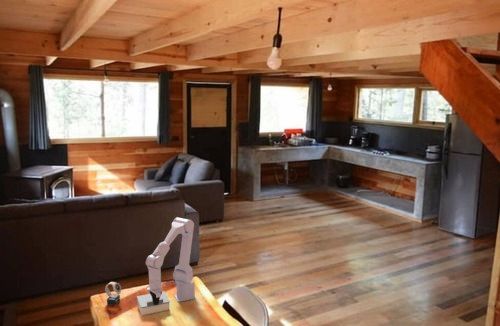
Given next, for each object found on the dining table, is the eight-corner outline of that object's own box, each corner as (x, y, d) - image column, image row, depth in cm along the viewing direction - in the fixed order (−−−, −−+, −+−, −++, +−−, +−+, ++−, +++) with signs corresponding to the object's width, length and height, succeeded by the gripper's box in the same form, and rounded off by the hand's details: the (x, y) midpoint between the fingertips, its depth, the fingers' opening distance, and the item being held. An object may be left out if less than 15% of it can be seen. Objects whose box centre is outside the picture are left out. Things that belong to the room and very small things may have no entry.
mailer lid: (164, 291, 220) (164, 287, 220) (169, 302, 209) (169, 298, 209) (136, 297, 214) (136, 293, 214) (140, 308, 203) (140, 304, 203)
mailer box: (164, 299, 221) (164, 292, 220) (169, 310, 210) (169, 302, 209) (137, 304, 215) (137, 297, 214) (141, 316, 204) (141, 308, 204)
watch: (118, 305, 214) (117, 285, 213) (104, 304, 216) (102, 284, 214) (123, 300, 220) (122, 281, 218) (109, 299, 221) (108, 279, 219)
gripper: (144, 274, 208) (145, 299, 210) (149, 286, 195) (150, 313, 197) (158, 272, 210) (159, 296, 213) (164, 283, 197) (165, 310, 200)
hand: (156, 304), depth 205 cm, fingers closed
